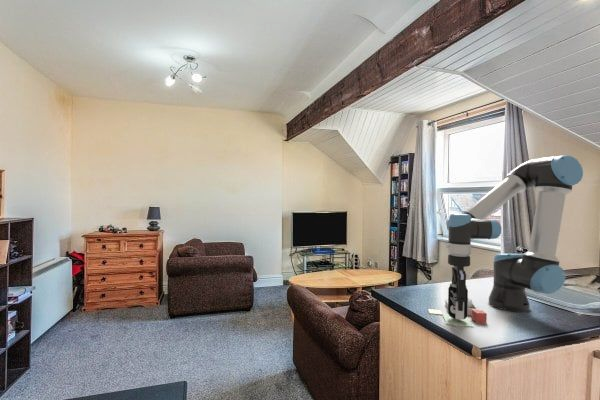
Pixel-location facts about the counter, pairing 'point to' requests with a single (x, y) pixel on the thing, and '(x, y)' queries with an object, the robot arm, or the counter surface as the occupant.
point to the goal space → (457, 321)
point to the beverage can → (452, 303)
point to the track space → (435, 312)
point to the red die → (479, 316)
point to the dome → (469, 303)
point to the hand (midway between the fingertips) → (457, 315)
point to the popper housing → (469, 310)
